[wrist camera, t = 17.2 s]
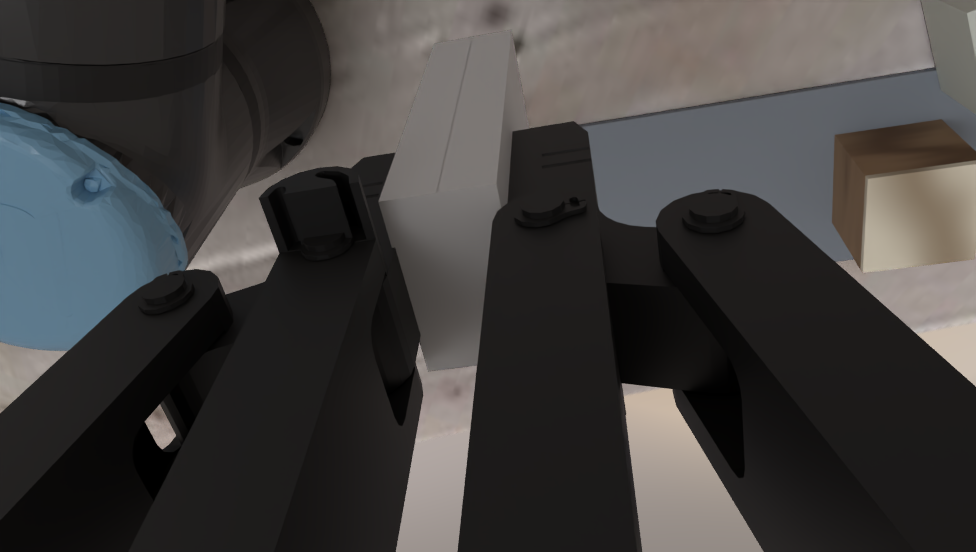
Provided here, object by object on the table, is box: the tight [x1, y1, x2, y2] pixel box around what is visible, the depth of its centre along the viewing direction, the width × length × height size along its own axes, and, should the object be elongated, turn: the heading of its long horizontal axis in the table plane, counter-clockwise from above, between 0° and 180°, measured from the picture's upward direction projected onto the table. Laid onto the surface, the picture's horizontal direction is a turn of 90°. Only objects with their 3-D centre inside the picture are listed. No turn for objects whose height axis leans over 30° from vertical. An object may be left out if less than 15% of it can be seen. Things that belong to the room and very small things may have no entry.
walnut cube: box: [832, 119, 976, 273], centre depth 48 cm, size 6×6×6 cm
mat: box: [579, 68, 976, 262], centre depth 52 cm, size 32×12×1 cm, turn 101°
